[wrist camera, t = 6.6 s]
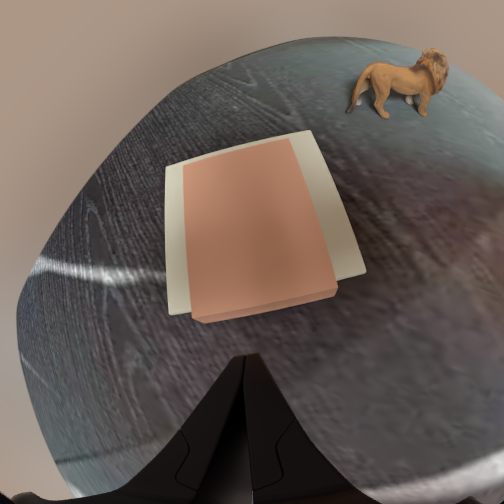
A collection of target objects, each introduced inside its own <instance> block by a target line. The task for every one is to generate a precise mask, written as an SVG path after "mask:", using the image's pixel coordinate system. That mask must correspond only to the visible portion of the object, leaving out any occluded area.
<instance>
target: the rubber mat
mask: <svg viewBox="0 0 504 504" xmlns="http://www.w3.org/2000/svg"><path fill="white" fill-rule="evenodd" d="M287 138H289V140H290V143H291V145H292V148H293V150H294V153H295V156H296V158H297V161H298V164H299V166H300V169H301V172H302V174H303V177H304V180H305V183H306V186H307V188H308V191H309V194H310V197H311V200H312V203H313V206H314V209H315V212H316V215H317V218H318V221H319V224H320V227H321V230H322V233H323V237H324V240H325V243H326V246H327V250H328V253H329V256H330V260H331V263H332V267H333V270H334V274H335V277H336V281H338V280H342V279H346V278H350V277H353V276H357V275H361V274H365V273H366V268H365V265H364V262H363V259H362V256H361V253H360V250H359V247H358V244H357V241H356V238H355V235H354V232H353V230H352V227H351V224H350V222H349V219H348V216H347V214H346V211H345V208H344V206H343V203H342V201H341V198H340V196H339V193H338V191H337V188H336V186H335V184H334V181H333V179H332V176H331V174H330V172H329V169H328V167H327V165H326V163H325V160H324V158H323V156H322V154H321V152H320V149H319V147H318V145H317V143H316V141H315V139H314V137H313V135H312V133H311V131H310V130H307V131H302V132H296V133H291V134H286V135H281V136H277V137H272V138H267V139H263V140H259V141H254V142H250V143H246V144H242V145H238V146H234V147H231V148H227V149H223V150H220V151H216V152H212V153H209V154H206V155H202V156H199V157H196V158H192V159H189V160H186V161H183V162H180V163H177V164H174V165H171V166H168V167H166V180H165V254H166V278H167V295H168V308H169V314H170V315H176V314H182V313H188V312H192V311H191V302H190V291H189V280H188V268H187V255H186V239H185V220H184V195H183V165H186V164H190V163H193V162H196V161H199V160H203V159H206V158H210V157H213V156H217V155H220V154H224V153H227V152H231V151H235V150H239V149H243V148H247V147H251V146H255V145H259V144H264V143H268V142H273V141H277V140H282V139H287Z"/></svg>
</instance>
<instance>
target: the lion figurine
mask: <svg viewBox="0 0 504 504" xmlns="http://www.w3.org/2000/svg"><path fill="white" fill-rule="evenodd" d="M449 68H450V66H449V64H448V61H447V59H446V56H445V55H444V54H443V53H442V52H440V51H438V50H436V49H434V48H433V49H430V50H429V49H426V50H423V51H422V56H421V57H420V58H419V60H418V61H417V63H416V64H415V65H414V66H412V67H397V66H393V65H390V64H387V63H383V62H375V63H372V64H369V65H368V66H367V68H366V69H365V70H364V71H363V72H362V74H361V75H360V77H359V79H358V82H357V85H356V88H354V90H353V94H352V99H351V101H352V104H351V106H350V107H349V109H348V110H347V112H348V113H349V112H353V110H354V109H355V106H356V105H361V103H362V100H361V99H358V96H359V95H360V94H361V93H362V92H364V91H366V90H367V89H369V88H371V87H372V86H373V89H374V92H375V95H376V101H375V103H374V106H375V108H376V109H377V111H378V113H379V114H380V116H381V117H382V118H385V119H389V118H390V114H389V113H388V112H387V111H384V110H383V104H384V102H385V100H386V99H387V97H388V96H389V94H390V89H392V90H393V91H395V92H397V93H400V94H406V97H405V102H406V103H408V104H413V103H414V101H413V95H414V94H419V96H420V104H419V106H418V112H419V114H420V115H422V116H424V117H426V116H427V112H426V111H425V108H426V106H427V104H428V103H429V101H430V96H431V95H434V94H438V93H439V91H441V90H442V88H443V86H444V84H445V82H446V79H447V76H448V73H449Z"/></svg>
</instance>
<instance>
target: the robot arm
mask: <svg viewBox="0 0 504 504" xmlns="http://www.w3.org/2000/svg"><path fill="white" fill-rule="evenodd" d="M180 429H181V430H180ZM180 429H179V430H178V431H177V433H176V434H175V435H174V436H173V438H172V439H171V440H170V441H169V442H168V444H167V445H166V446H165V447H164V448H163V449H162V450H161V451H160V452H159V453H158V454H157V456H156V457H155V458H154V459H153V460H152V461H150V462H149V463H148V464H147V465H146V466H145V467H144V468H143V469H142V470H141V471H140V472H139V473H138V474H137V475H136V476H134V477H133V478H132V479H131V480H130V481H129V482H128V483H126V484H125V485H124V486H122V487H120V488H119V489H117V490H114V491H111V492H107V493H103V494H98V495H93V496H88V497H82V498H75V499H68V500H59V501H52V500H46V499H42V498H40V497H39V496H37V495H36V494H34V493H32V492H25V493H20V494H17V495H15V496H13V497H12V498H9V497H8V496H6V495H5V494H4V493H2V492H1V491H0V504H252V490H253V504H381V503H379V502H378V501H376V500H374V499H372V498H371V497H369V496H367V495H366V494H364V493H362V492H361V491H359V490H358V489H357V488H356V487H354V486H353V485H352V484H351V483H350V482H349V481H348V480H347V479H346V478H345V477H344V476H343V475H342V474H341V473H340V472H339V471H338V470H337V469H336V468H335V467H334V466H333V465H332V464H331V463H330V462H329V461H328V460H327V459H326V458H325V456H324V455H323V454H322V453H321V452H320V451H319V450H318V448H317V447H316V446H315V445H314V444H313V442H312V441H311V440H310V438H309V437H308V436H307V434H306V433H305V431H304V430H303V428H302V426H301V425H300V423H299V421H298V420H297V419H296V417H295V415H294V413H293V412H292V410H291V408H290V406H289V405H288V403H287V401H286V400H285V398H284V396H283V394H282V393H281V391H280V389H279V387H278V386H277V384H276V382H275V380H274V379H273V377H272V375H271V373H270V372H269V370H268V368H267V366H266V364H265V363H264V361H263V359H262V357H261V355H260V354H259V353H258V352H255V353H250V354H247V355H245V354H243V355H237V356H234V357H233V358H232V359H231V360H230V362H229V363H228V365H227V366H226V367H225V369H224V370H223V372H222V373H221V374H220V376H219V377H218V378H217V380H216V381H215V383H214V384H213V385H212V387H211V388H210V389H209V391H208V392H207V393H206V395H205V396H204V397H203V399H202V400H201V401H200V403H199V404H198V405H197V407H196V408H195V409H194V411H193V412H192V413H191V415H190V416H189V417H188V419H187V420H186V421H185V422H184V424H183V425H182V426H181V428H180ZM456 504H484V503H483V502H481V501H479V500H478V499H476V498H475V497H473V496H469V497H467V498H465V499H463V500H462V501H460V502H458V503H456ZM498 504H504V499H503V500H502V501H501V502H499V503H498Z"/></svg>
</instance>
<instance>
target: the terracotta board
mask: <svg viewBox="0 0 504 504" xmlns="http://www.w3.org/2000/svg"><path fill="white" fill-rule="evenodd" d="M183 195H184V220H185V239H186V255H187V268H188V280H189V291H190V302H191V311H192V318H193V319H195V320H198V321H200V322H202V323H210V322H216V321H222V320H227V319H233V318H238V317H243V316H248V315H253V314H258V313H263V312H268V311H273V310H278V309H282V308H287V307H291V306H296V305H300V304H304V303H309V302H313V301H317V300H321V299H325V298H329V297H333V296H334V295H335V293H336V291H337V289H338V285H337V281H336V277H335V274H334V270H333V267H332V263H331V260H330V256H329V253H328V250H327V246H326V243H325V240H324V237H323V233H322V230H321V227H320V224H319V221H318V218H317V215H316V212H315V209H314V206H313V203H312V200H311V197H310V194H309V191H308V188H307V186H306V183H305V180H304V177H303V174H302V172H301V169H300V166H299V164H298V161H297V158H296V156H295V153H294V150H293V148H292V145H291V143H290V140H289V138H287V139H282V140H277V141H273V142H268V143H264V144H259V145H255V146H251V147H247V148H243V149H239V150H235V151H231V152H227V153H224V154H220V155H217V156H213V157H210V158H206V159H203V160H199V161H196V162H193V163H190V164H186V165H183Z"/></svg>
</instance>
